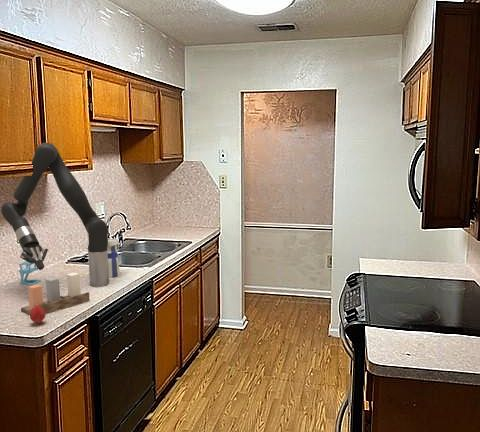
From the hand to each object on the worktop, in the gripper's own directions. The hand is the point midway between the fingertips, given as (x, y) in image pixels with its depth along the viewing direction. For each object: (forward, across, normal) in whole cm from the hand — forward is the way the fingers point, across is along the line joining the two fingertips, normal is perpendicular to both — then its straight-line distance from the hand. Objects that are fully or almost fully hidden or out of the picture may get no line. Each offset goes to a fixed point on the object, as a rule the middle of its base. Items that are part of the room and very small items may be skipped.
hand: (41, 268), depth 220 cm
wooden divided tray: (+18, 0, +3) cm, 18 cm away
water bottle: (+3, +44, +18) cm, 47 cm away
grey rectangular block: (+15, 0, +3) cm, 16 cm away
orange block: (+18, -10, +1) cm, 21 cm away
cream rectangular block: (+15, +10, +3) cm, 19 cm away
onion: (+28, -15, -6) cm, 32 cm away
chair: (-12, +10, +33) cm, 37 cm away
